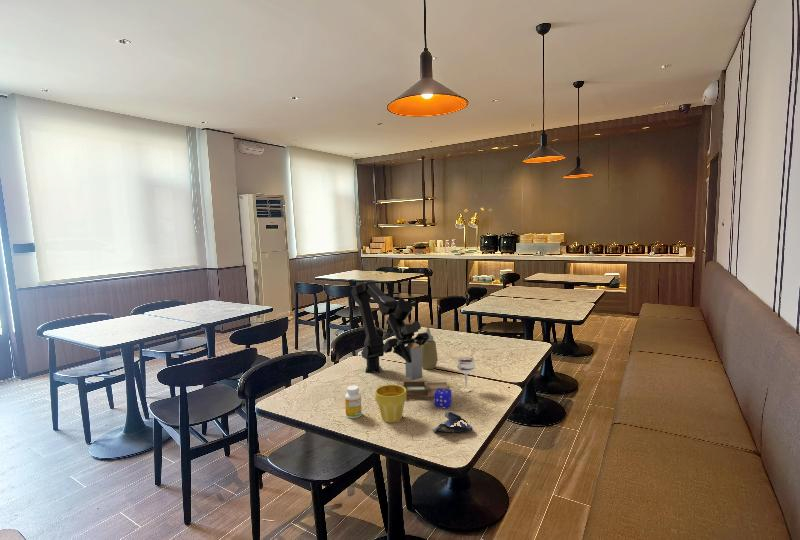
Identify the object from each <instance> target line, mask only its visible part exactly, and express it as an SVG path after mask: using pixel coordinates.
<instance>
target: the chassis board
mask: <svg viewBox="0 0 800 540" xmlns="http://www.w3.org/2000/svg"><path fill="white" fill-rule="evenodd" d="M396 385H400V386H403V387H405V388H406V392H407V399H406V401H410V400H409V399H415V400H435V398H434V393H435V392H436V391H437V389H438V388H440V389H449V387H448V383H447V382H446V381H443V382H442V381H441V382H439V381H438V382H436V381H435V382H427V380H402V381H401V382H397V383H396Z"/></svg>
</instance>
